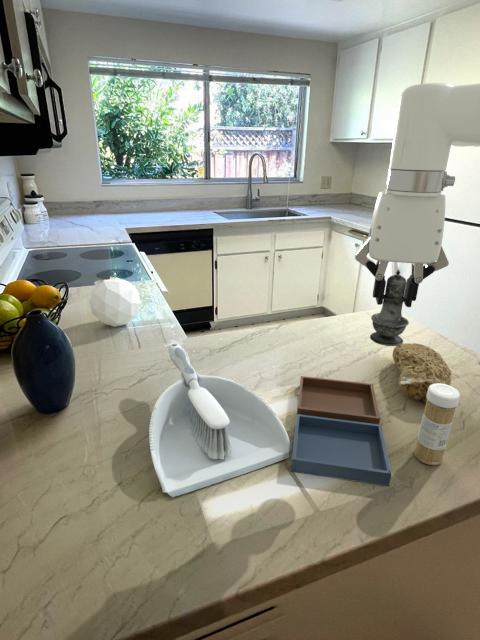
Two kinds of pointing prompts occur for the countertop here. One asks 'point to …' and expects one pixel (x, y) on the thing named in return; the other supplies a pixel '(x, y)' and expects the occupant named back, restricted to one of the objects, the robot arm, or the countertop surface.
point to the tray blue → (340, 450)
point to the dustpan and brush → (210, 430)
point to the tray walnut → (338, 400)
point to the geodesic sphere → (114, 301)
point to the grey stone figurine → (391, 314)
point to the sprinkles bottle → (436, 423)
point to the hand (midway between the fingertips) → (392, 302)
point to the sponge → (419, 369)
